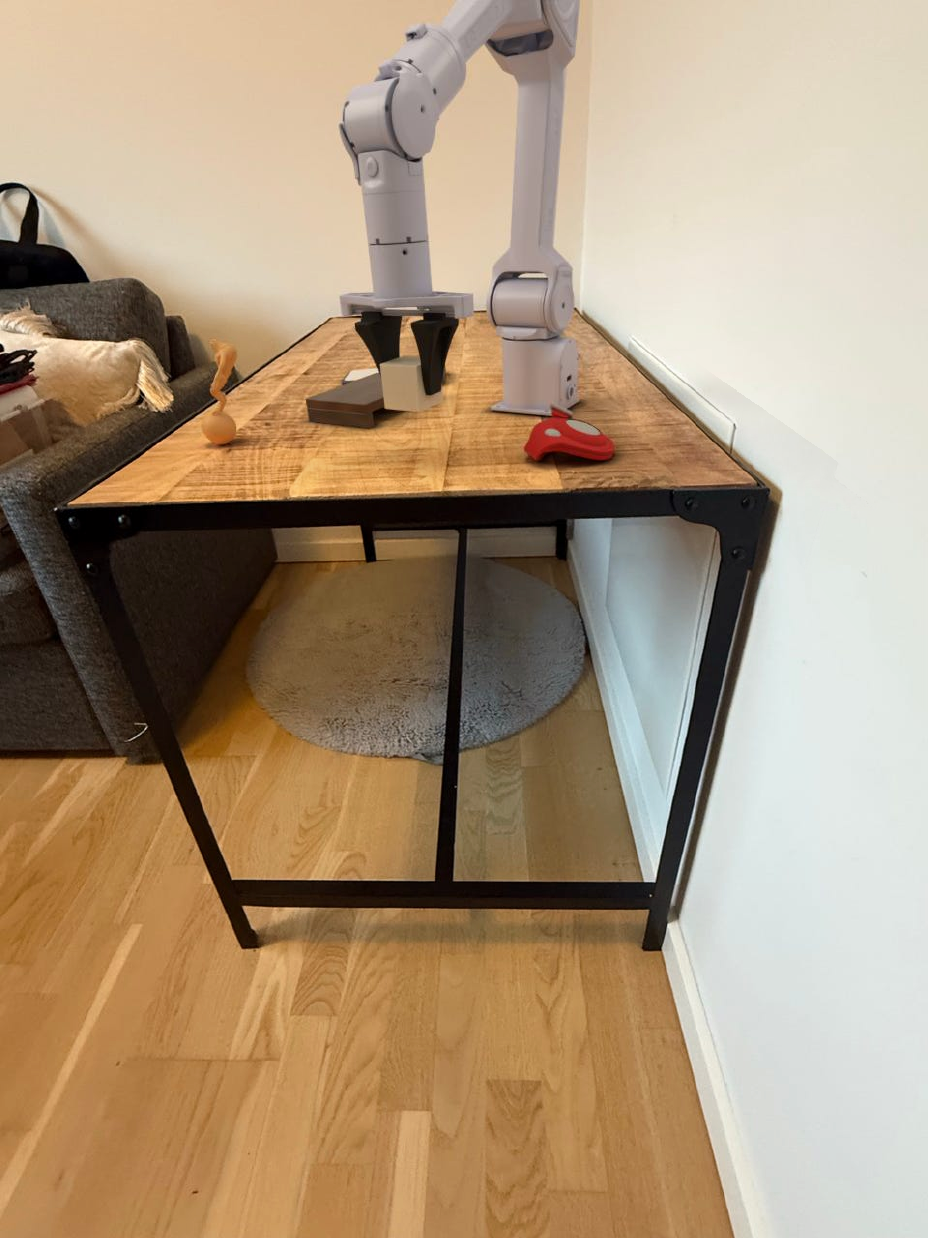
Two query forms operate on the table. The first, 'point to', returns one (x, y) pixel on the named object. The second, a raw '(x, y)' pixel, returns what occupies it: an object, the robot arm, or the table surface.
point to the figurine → (220, 396)
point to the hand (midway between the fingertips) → (412, 391)
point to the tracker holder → (568, 437)
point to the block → (406, 385)
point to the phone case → (363, 373)
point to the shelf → (348, 403)
